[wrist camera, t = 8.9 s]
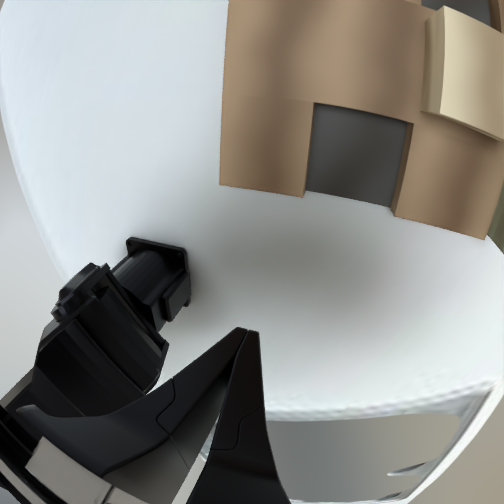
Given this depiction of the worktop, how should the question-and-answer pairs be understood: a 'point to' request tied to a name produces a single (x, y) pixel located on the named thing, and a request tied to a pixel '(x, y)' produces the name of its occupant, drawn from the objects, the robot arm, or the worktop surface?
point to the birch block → (464, 72)
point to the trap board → (354, 111)
